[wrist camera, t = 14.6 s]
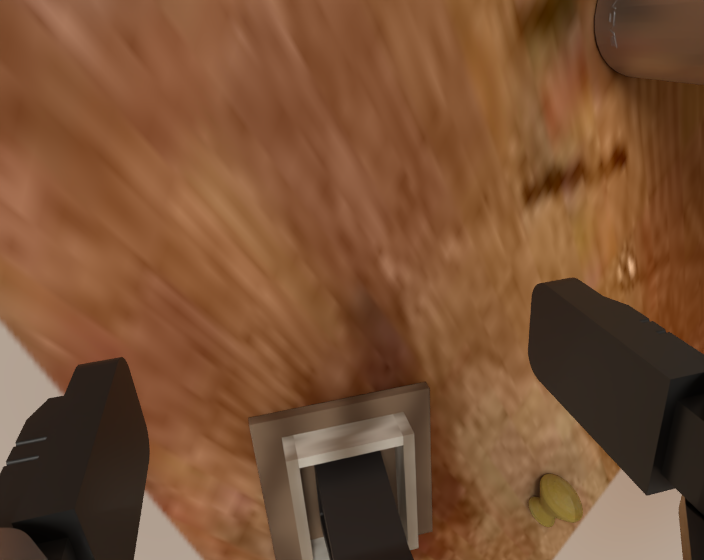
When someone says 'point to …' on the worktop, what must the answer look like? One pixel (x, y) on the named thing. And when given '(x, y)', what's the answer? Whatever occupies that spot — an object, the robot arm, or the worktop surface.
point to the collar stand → (337, 443)
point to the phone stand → (359, 510)
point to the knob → (555, 502)
